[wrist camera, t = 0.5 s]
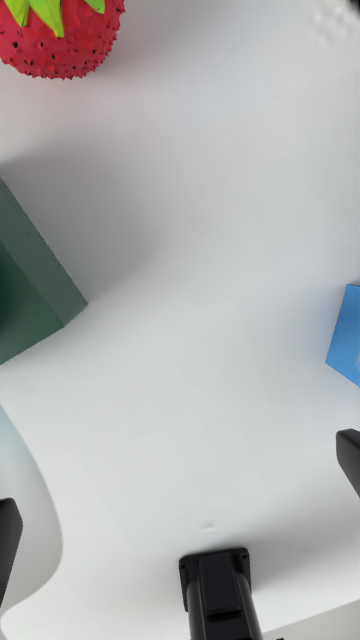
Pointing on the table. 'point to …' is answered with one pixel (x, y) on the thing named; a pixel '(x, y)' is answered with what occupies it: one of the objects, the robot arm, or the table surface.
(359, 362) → the perfume bottle
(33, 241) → the button housing
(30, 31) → the strawberry
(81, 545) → the table surface
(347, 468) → the robot arm
